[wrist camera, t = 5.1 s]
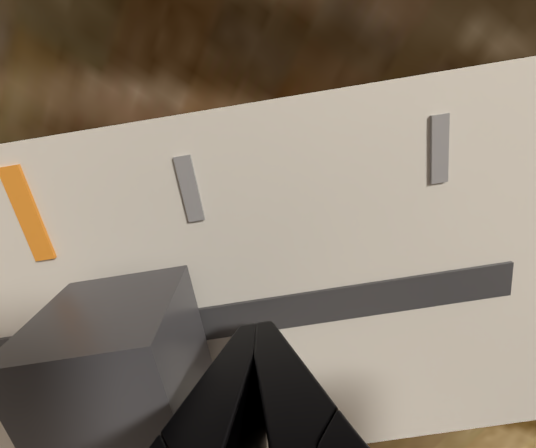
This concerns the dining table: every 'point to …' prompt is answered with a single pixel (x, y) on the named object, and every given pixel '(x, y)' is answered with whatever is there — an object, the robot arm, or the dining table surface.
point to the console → (316, 235)
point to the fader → (104, 362)
